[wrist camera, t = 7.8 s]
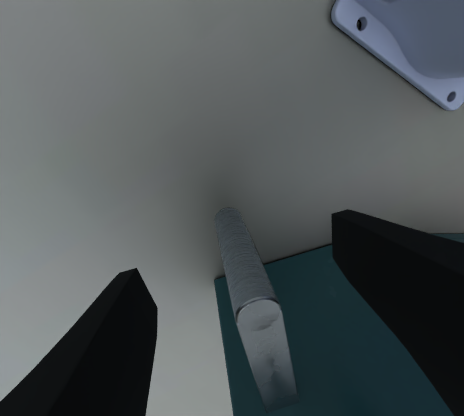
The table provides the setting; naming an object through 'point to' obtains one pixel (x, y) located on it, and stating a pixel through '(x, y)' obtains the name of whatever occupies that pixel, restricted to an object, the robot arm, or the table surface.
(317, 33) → the table surface
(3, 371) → the table surface
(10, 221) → the table surface
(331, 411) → the teal cabinet door
